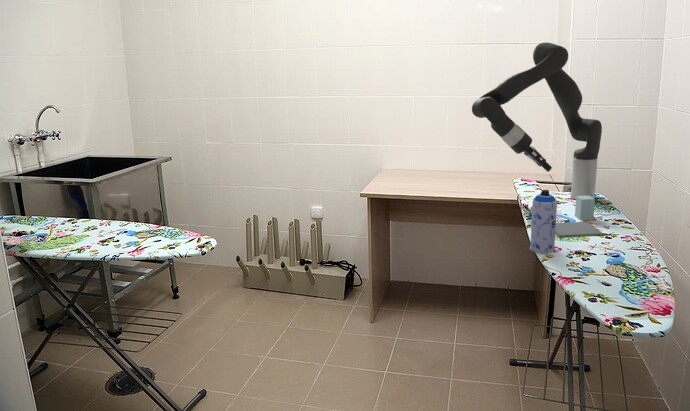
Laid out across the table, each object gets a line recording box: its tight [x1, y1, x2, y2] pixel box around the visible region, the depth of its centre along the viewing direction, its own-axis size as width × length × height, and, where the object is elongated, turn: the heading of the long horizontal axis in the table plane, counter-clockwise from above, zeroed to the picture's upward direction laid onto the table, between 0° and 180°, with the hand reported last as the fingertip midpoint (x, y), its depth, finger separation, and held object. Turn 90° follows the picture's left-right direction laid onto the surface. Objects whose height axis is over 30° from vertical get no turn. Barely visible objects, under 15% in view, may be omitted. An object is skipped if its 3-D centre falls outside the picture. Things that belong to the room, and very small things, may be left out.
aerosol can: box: [529, 189, 558, 254], centre depth 185 cm, size 8×8×20 cm
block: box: [574, 195, 596, 221], centre depth 215 cm, size 5×5×8 cm
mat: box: [555, 221, 604, 238], centre depth 203 cm, size 13×15×1 cm
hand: (545, 167), depth 210 cm, fingers open, 8 cm apart
